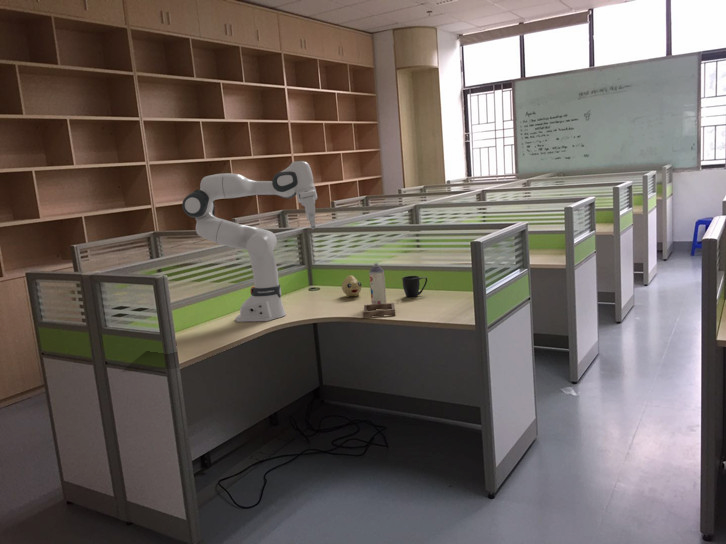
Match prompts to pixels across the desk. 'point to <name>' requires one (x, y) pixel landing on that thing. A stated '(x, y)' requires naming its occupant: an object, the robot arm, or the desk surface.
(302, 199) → the robot arm
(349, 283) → the egg character toy
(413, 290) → the mug
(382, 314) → the frame
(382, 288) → the aerosol can
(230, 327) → the desk surface
